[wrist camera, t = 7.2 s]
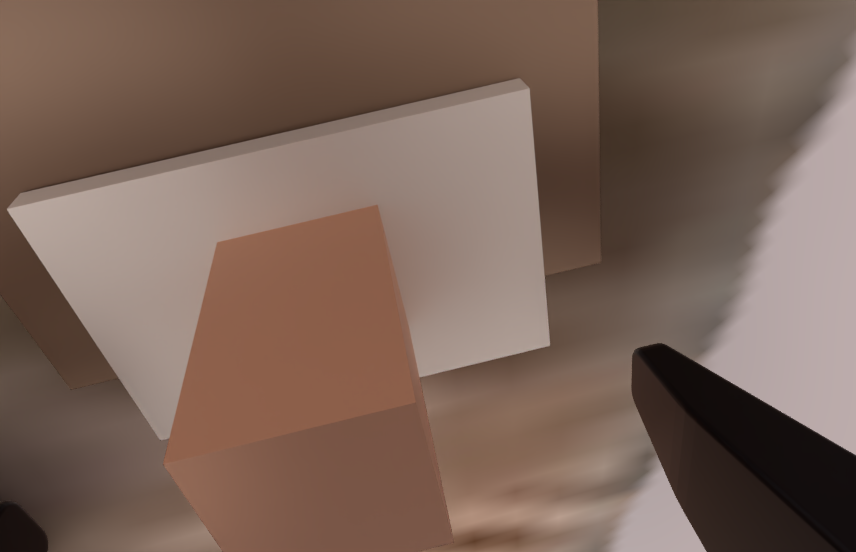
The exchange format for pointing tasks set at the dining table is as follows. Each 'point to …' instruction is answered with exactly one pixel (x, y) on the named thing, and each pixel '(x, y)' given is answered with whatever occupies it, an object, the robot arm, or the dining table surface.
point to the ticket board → (270, 103)
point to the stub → (309, 308)
